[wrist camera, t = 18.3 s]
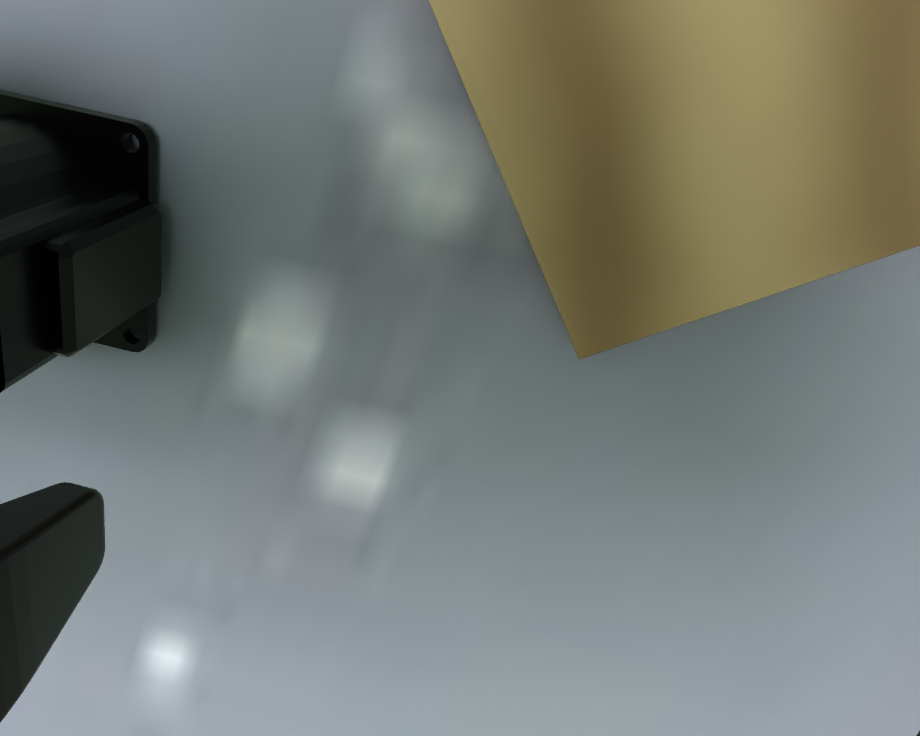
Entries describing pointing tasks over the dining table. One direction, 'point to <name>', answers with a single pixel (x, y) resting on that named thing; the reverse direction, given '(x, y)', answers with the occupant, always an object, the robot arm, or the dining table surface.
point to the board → (695, 145)
